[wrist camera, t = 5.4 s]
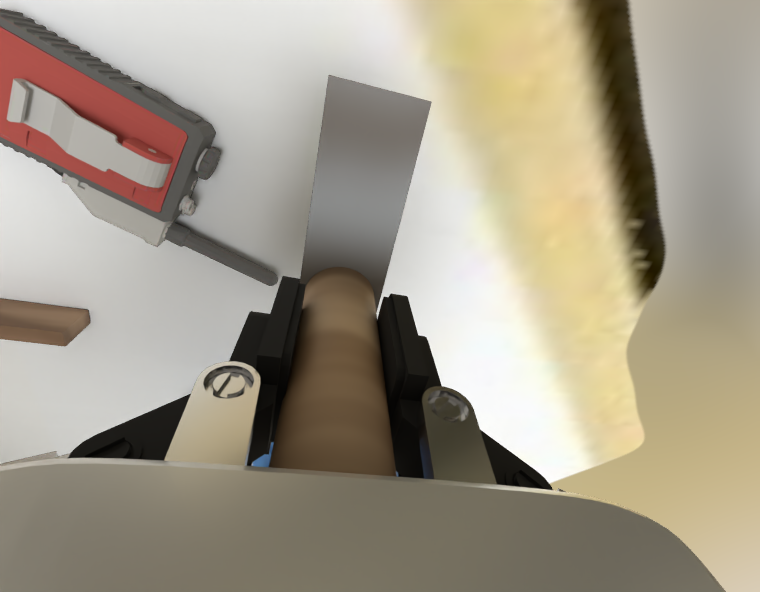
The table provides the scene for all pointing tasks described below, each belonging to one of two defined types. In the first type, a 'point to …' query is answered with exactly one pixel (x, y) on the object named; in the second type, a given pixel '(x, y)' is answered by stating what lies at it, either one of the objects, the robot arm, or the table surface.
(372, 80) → the table surface
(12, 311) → the dock
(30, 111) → the walkie-talkie
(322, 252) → the scraper
